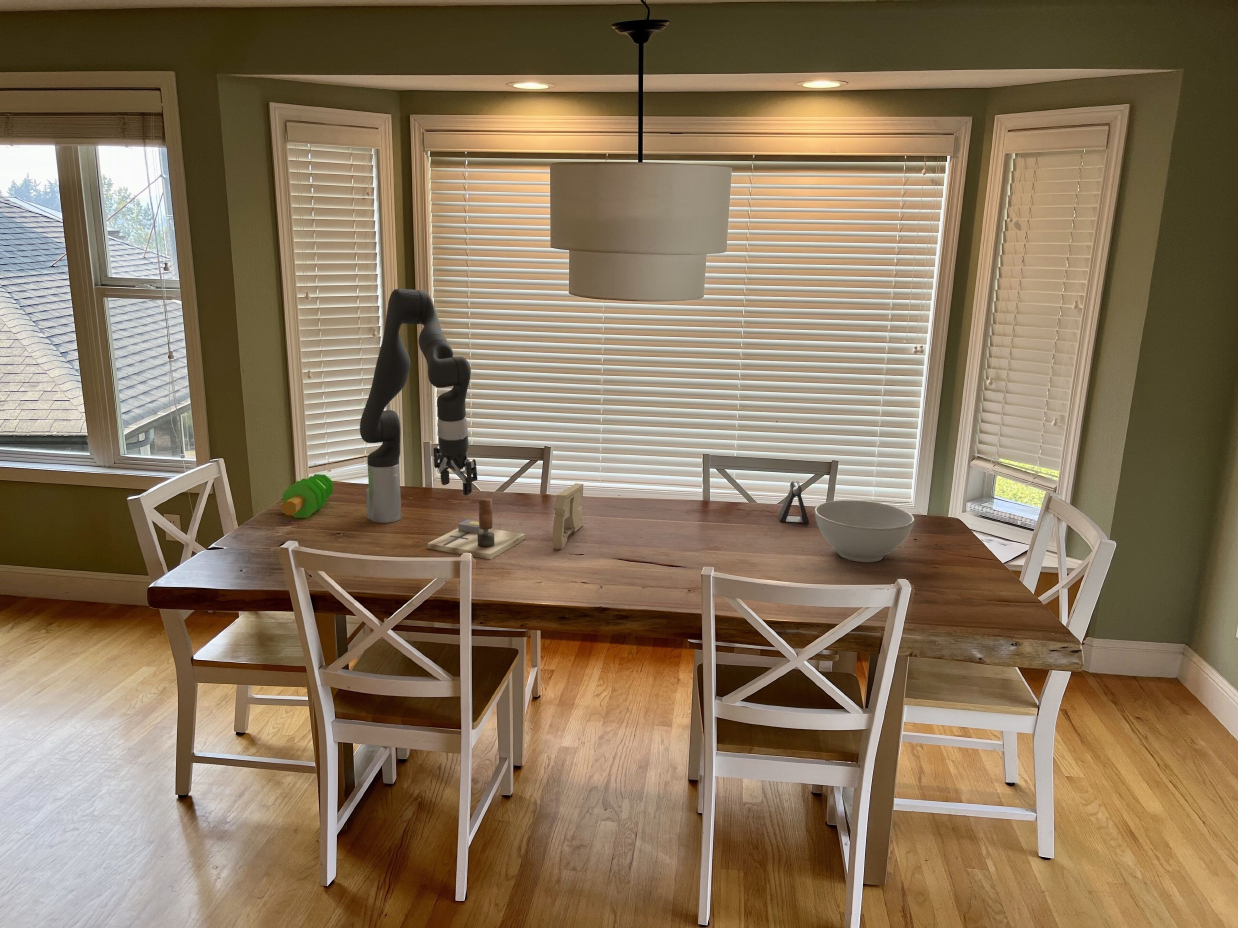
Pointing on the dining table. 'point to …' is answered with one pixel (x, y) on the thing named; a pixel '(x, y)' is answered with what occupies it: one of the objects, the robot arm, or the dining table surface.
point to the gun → (567, 514)
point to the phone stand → (787, 505)
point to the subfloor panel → (475, 543)
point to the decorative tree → (307, 496)
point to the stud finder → (470, 526)
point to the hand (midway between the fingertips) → (456, 489)
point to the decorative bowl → (863, 528)
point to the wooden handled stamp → (485, 523)
